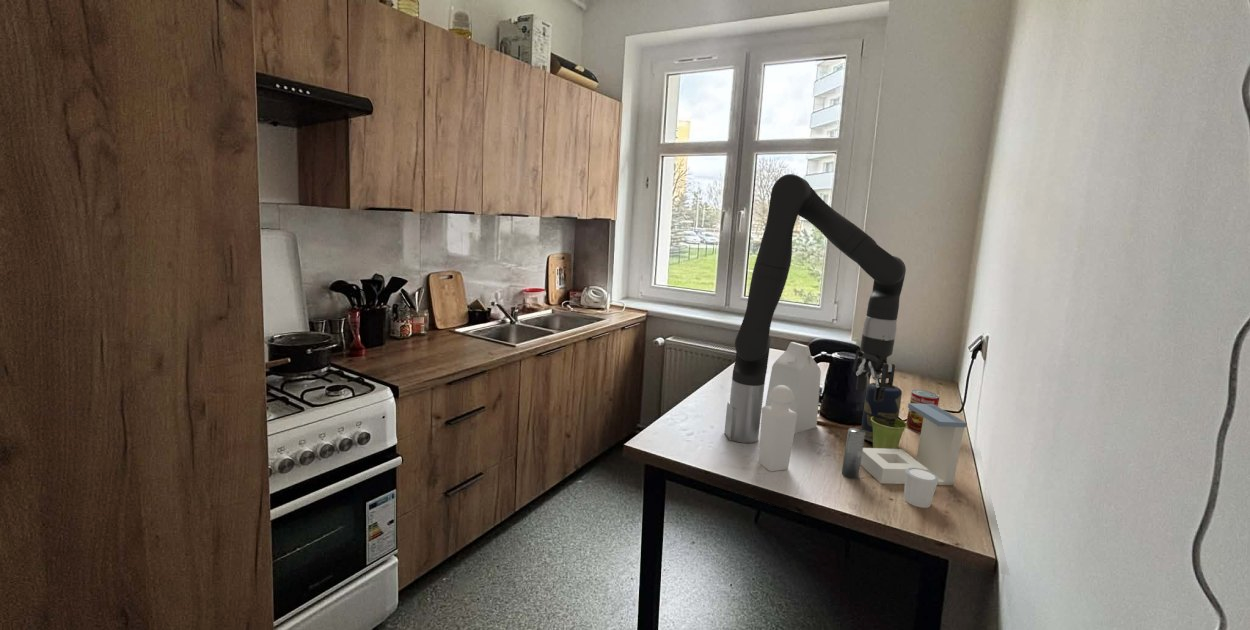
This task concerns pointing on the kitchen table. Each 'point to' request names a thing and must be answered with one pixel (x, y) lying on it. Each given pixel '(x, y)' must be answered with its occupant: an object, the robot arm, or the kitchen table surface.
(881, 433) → the plant pot
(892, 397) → the canister
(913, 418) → the canned food
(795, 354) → the milk
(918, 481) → the white tapered cup
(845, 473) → the peg
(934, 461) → the socket station
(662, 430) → the kitchen table surface
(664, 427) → the kitchen table surface
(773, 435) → the white square bottle
